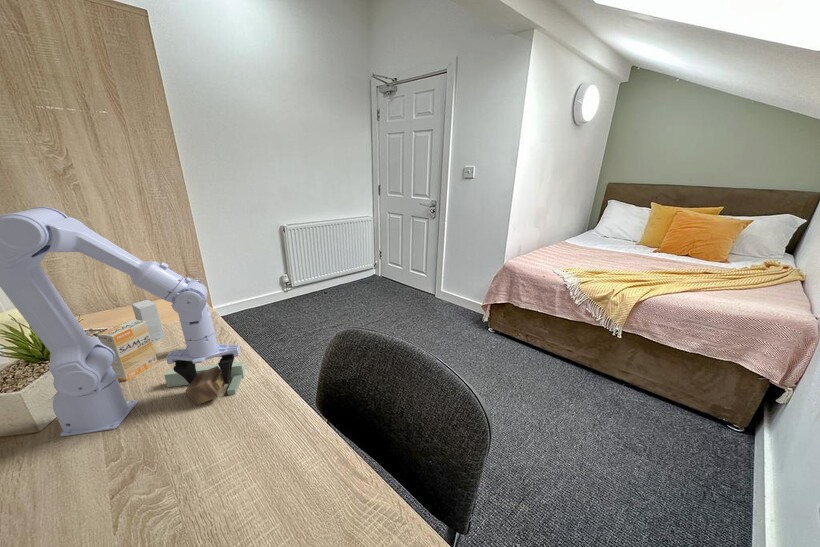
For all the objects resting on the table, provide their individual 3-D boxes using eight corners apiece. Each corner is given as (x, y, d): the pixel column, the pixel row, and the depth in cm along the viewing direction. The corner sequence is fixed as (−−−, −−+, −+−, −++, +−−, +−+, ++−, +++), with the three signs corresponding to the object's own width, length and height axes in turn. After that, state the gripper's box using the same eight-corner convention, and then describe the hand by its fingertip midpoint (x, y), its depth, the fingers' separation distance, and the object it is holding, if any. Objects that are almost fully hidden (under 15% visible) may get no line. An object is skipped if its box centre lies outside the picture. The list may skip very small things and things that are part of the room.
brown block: (185, 391, 68) (210, 380, 68) (197, 373, 73) (220, 364, 74) (196, 405, 69) (221, 395, 70) (207, 387, 75) (230, 378, 75)
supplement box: (127, 382, 76) (111, 336, 72) (112, 379, 77) (95, 334, 73) (159, 362, 84) (146, 320, 79) (145, 360, 85) (131, 318, 80)
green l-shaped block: (154, 405, 69) (150, 392, 68) (171, 382, 76) (168, 369, 75) (237, 394, 73) (234, 381, 72) (246, 373, 80) (243, 361, 79)
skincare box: (166, 338, 95) (156, 303, 91) (149, 344, 92) (138, 309, 88) (157, 333, 98) (147, 299, 94) (141, 338, 95) (130, 303, 91)
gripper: (152, 347, 64) (169, 399, 68) (229, 339, 67) (240, 390, 71) (169, 330, 70) (183, 379, 75) (238, 324, 73) (247, 371, 78)
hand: (211, 383), depth 73 cm, fingers closed on brown block, 6 cm apart
